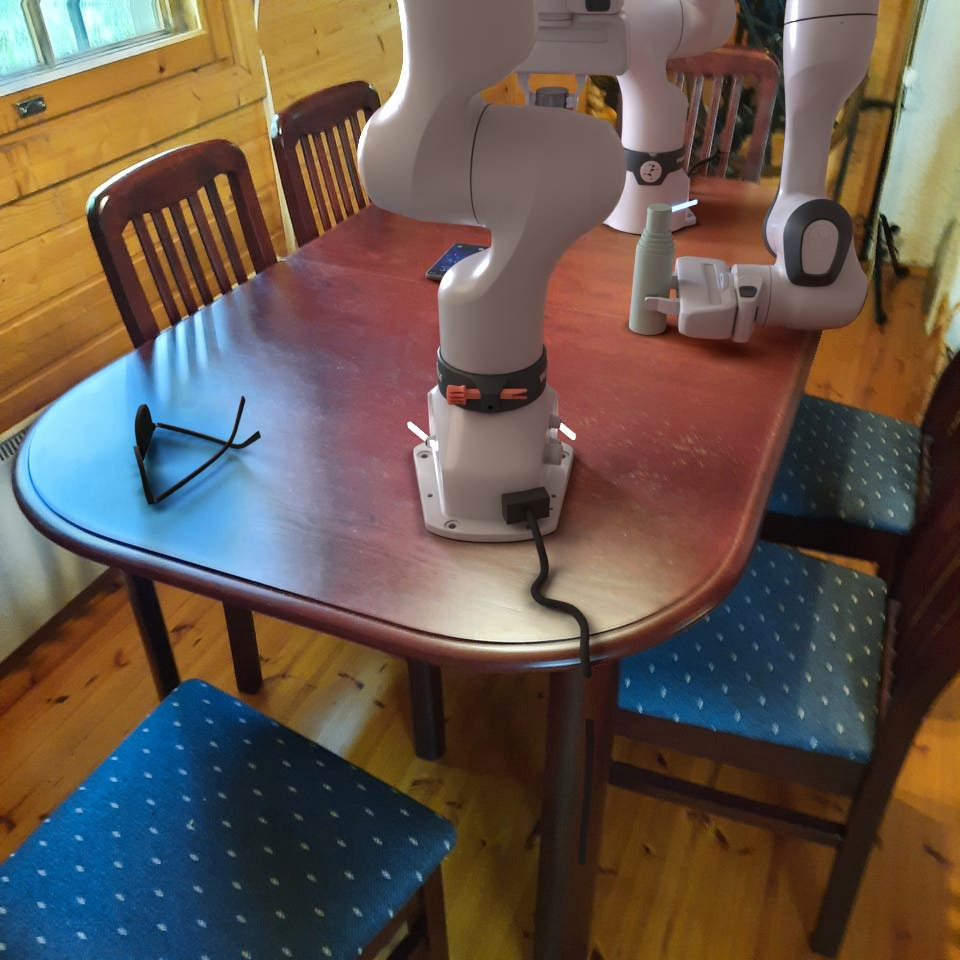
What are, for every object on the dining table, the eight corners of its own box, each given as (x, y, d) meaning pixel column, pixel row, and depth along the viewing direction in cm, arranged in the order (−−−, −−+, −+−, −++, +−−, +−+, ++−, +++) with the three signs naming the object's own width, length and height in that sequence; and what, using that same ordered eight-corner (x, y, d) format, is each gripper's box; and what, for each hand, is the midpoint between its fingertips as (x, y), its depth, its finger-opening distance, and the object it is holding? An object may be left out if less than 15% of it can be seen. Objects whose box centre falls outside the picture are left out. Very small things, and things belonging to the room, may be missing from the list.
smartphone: (493, 246, 151) (464, 280, 139) (493, 251, 151) (464, 285, 140) (454, 241, 153) (422, 274, 141) (454, 246, 153) (423, 279, 142)
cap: (536, 103, 119) (536, 86, 118) (568, 103, 119) (569, 86, 117) (534, 111, 115) (534, 93, 114) (568, 111, 115) (568, 93, 114)
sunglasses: (270, 486, 97) (262, 449, 94) (137, 510, 94) (125, 474, 91) (257, 411, 110) (250, 377, 107) (140, 430, 107) (130, 396, 104)
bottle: (672, 325, 127) (687, 205, 116) (653, 338, 124) (666, 216, 113) (641, 315, 130) (653, 197, 119) (621, 328, 127) (632, 208, 116)
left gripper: (469, -4, 108) (472, 111, 117) (632, -3, 104) (623, 117, 113) (481, -11, 113) (483, 100, 121) (636, -10, 109) (628, 105, 117)
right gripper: (739, 247, 128) (645, 244, 130) (754, 306, 112) (647, 301, 114) (733, 286, 132) (642, 283, 134) (746, 349, 116) (643, 344, 117)
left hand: (552, 108), depth 117 cm, fingers closed on cap, 4 cm apart
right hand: (644, 292), depth 124 cm, fingers closed on bottle, 5 cm apart
